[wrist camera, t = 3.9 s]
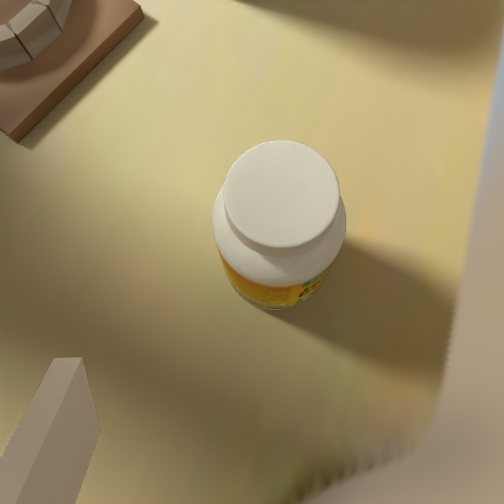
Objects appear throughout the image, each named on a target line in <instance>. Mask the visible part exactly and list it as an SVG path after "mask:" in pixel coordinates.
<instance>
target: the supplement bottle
mask: <svg viewBox="0 0 504 504" xmlns="http://www.w3.org/2000/svg"><path fill="white" fill-rule="evenodd" d="M212 226H213V234H214V238H215V242H216V245H217V247H218V250H219V253H220V256H221V259H222V262H223V265H224V268H225V271H226V274H227V276H228V279H229V281H230V283H231V285H232V286H233V288H234V289H235V291H236V292H237V293H238V294H239V295H240V296H241V297H242V298H243V299H245V300H246V301H247V302H249V303H251V304H252V305H255V306H257V307H260V308H263V309H268V310H281V309H286V308H290V307H293V306H296V305H298V304H300V303H302V302H304V301H305V300H307V299H308V298H309V297H310V296H312V295H313V293H314V292H315V291H316V290H317V288H318V287H319V285H320V284H321V282H322V280H323V279H324V277H325V275H326V274H327V272H328V270H329V268H330V267H331V265H332V263H333V261H334V260H335V258H336V256H337V254H338V253H339V251H340V249H341V246H342V243H343V240H344V236H345V232H346V212H345V207H344V204H343V201H342V198H341V196H340V188H339V183H338V179H337V176H336V174H335V172H334V170H333V168H332V166H331V165H330V163H329V162H328V161H327V160H326V159H325V158H324V157H323V156H322V155H321V154H320V153H318V152H317V151H316V150H314V149H313V148H311V147H309V146H307V145H304V144H302V143H299V142H295V141H288V140H275V141H268V142H264V143H261V144H258V145H256V146H254V147H252V148H250V149H249V150H247V151H246V152H244V153H243V154H242V155H241V156H240V157H239V158H238V159H237V160H236V161H235V162H234V164H233V165H232V167H231V168H230V170H229V172H228V175H227V177H226V180H225V184H224V185H223V187H222V188H221V190H220V192H219V194H218V196H217V198H216V201H215V205H214V208H213V216H212Z"/></svg>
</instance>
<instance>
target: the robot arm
mask: <svg viewBox="0 0 504 504" xmlns="http://www.w3.org/2000/svg"><path fill="white" fill-rule="evenodd" d="M100 429H101V427H100V424H99V420H98V416H97V412H96V408H95V404H94V401H93V397H92V393H91V389H90V385H89V382H88V378H87V374H86V370H85V366H84V362H83V359H82V357H74V358H54V359H53V361H52V363H51V365H50V367H49V369H48V370H47V372H46V374H45V376H44V378H43V380H42V382H41V384H40V385H39V387H38V389H37V391H36V393H35V395H34V397H33V399H32V400H31V402H30V404H29V406H28V408H27V410H26V412H25V414H24V416H23V417H22V419H21V421H20V423H19V425H18V427H17V429H16V431H15V432H14V434H13V436H12V438H11V440H10V442H9V444H8V446H7V447H6V449H5V451H4V453H3V455H2V457H1V459H0V504H75V503H76V500H77V497H78V494H79V491H80V488H81V485H82V482H83V479H84V476H85V473H86V470H87V467H88V465H89V462H90V459H91V456H92V453H93V450H94V447H95V444H96V441H97V438H98V435H99V432H100Z"/></svg>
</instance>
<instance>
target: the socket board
mask: <svg viewBox="0 0 504 504" xmlns="http://www.w3.org/2000/svg"><path fill="white" fill-rule="evenodd" d="M143 18H144V16H143V12H142V9H141V6H140V5H139V4H137V3H136V2H134V1H133V0H0V130H1V131H2V132H4V133H5V134H6V135H8V136H9V137H10V138H11V139H13V140H14V141H15V142H16V143H18V142H19V141H20V140H21V139H22V138H23V137H24V136H25V135H26V134H27V133H28V132H29V131H30V130H31V129H32V128H33V127H34V126H35V125H36V124H37V123H38V122H39V121H40V120H41V119H42V118H43V117H44V116H45V115H46V114H47V113H49V112H50V111H51V110H52V109H53V108H54V107H55V106H56V105H57V104H58V103H59V102H60V101H61V100H62V99H63V98H64V97H65V96H66V95H67V94H68V93H69V92H70V91H71V90H72V89H73V88H74V87H75V86H76V85H77V84H78V83H79V82H80V81H81V80H82V79H83V78H84V77H85V76H86V75H87V74H88V73H89V72H90V71H91V70H92V69H93V68H94V67H95V66H96V65H97V64H98V63H99V62H100V61H101V60H102V59H103V58H104V57H105V56H106V55H107V54H108V53H109V52H110V51H111V50H112V49H113V48H114V47H115V46H116V45H117V44H118V43H119V42H120V41H121V40H122V39H123V38H124V37H125V36H126V35H127V34H128V33H129V32H130V31H131V30H132V29H133V28H134V27H135V26H136V25H137V24H138V23H139V22H140V21H141V20H142V19H143Z"/></svg>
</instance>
